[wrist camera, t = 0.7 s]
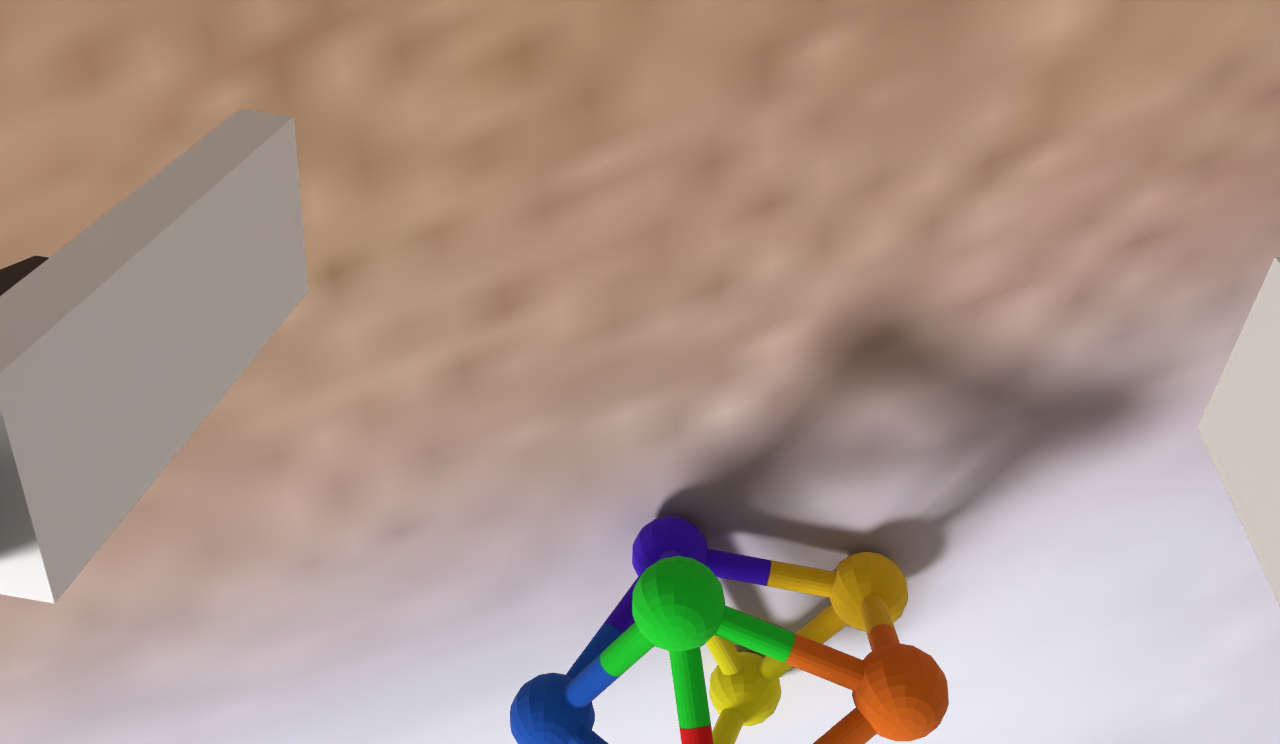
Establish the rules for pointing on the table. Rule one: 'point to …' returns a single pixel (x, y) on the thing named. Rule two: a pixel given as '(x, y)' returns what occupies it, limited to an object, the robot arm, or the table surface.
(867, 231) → the table surface
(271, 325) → the robot arm
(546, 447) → the table surface
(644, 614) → the educational toy
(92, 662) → the table surface
